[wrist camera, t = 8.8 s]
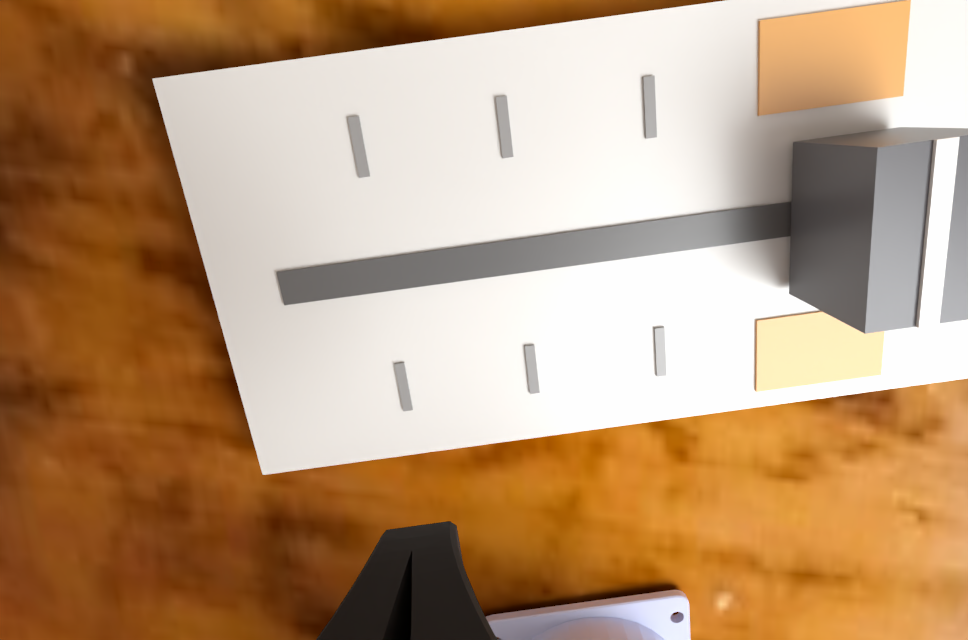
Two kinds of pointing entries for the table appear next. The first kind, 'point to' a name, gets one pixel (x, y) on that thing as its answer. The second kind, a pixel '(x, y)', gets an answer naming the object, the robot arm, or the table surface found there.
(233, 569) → the table surface
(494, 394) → the panel
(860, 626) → the table surface
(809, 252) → the fader
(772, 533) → the table surface
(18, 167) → the table surface
